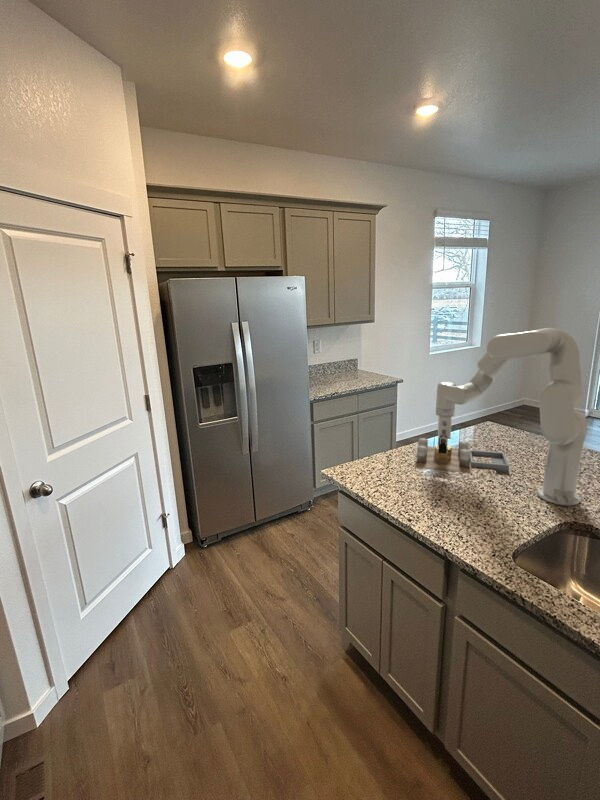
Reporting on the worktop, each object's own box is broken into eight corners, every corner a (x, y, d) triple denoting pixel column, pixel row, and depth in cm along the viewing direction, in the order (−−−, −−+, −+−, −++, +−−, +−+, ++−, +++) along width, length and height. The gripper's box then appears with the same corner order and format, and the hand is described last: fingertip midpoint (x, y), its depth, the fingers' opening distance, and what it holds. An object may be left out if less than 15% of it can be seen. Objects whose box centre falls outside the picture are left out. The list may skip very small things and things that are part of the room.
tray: (508, 472, 156) (509, 465, 155) (470, 468, 161) (471, 462, 160) (503, 459, 169) (503, 452, 168) (468, 456, 173) (468, 449, 173)
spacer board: (470, 475, 154) (472, 459, 153) (415, 470, 161) (416, 454, 159) (466, 451, 178) (467, 437, 176) (418, 447, 185) (419, 433, 183)
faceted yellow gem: (450, 456, 171) (451, 445, 170) (451, 461, 165) (451, 450, 164) (434, 454, 173) (434, 444, 172) (434, 459, 168) (434, 449, 166)
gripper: (455, 417, 155) (452, 457, 159) (453, 406, 171) (450, 442, 175) (435, 416, 157) (432, 455, 162) (435, 405, 173) (433, 441, 178)
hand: (442, 448), depth 169 cm, fingers open, 9 cm apart
